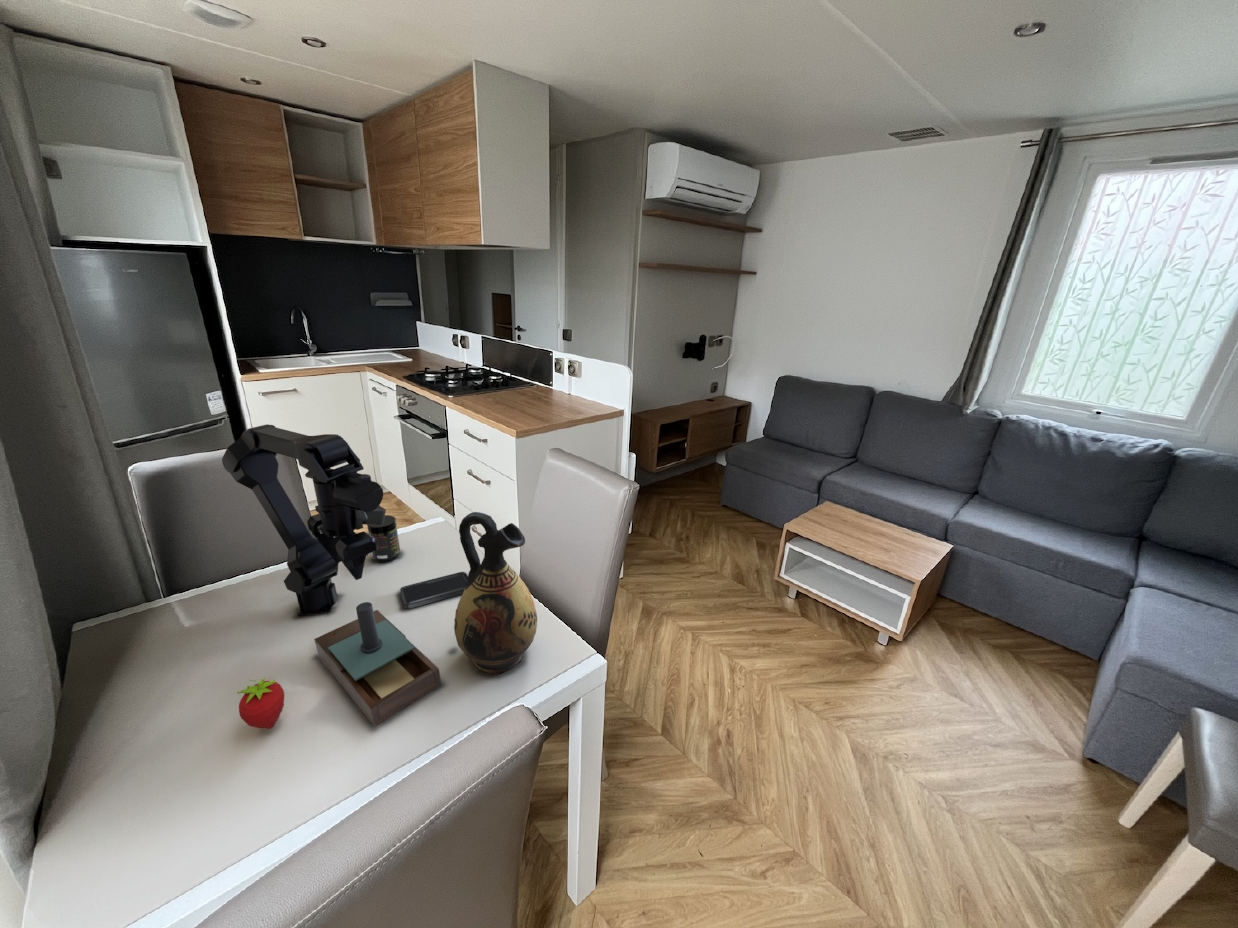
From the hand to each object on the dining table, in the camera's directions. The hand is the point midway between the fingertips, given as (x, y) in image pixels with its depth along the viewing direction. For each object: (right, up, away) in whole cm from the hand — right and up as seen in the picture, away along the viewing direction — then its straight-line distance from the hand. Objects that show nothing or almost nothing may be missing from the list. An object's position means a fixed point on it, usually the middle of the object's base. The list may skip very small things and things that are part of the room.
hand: (348, 570), depth 100 cm
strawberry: (-2, -22, -20) cm, 29 cm away
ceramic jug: (+31, -16, -3) cm, 35 cm away
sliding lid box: (+10, -17, -8) cm, 21 cm away
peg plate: (+9, -13, -9) cm, 18 cm away
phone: (+12, -8, +15) cm, 21 cm away
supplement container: (-6, -3, +29) cm, 30 cm away
